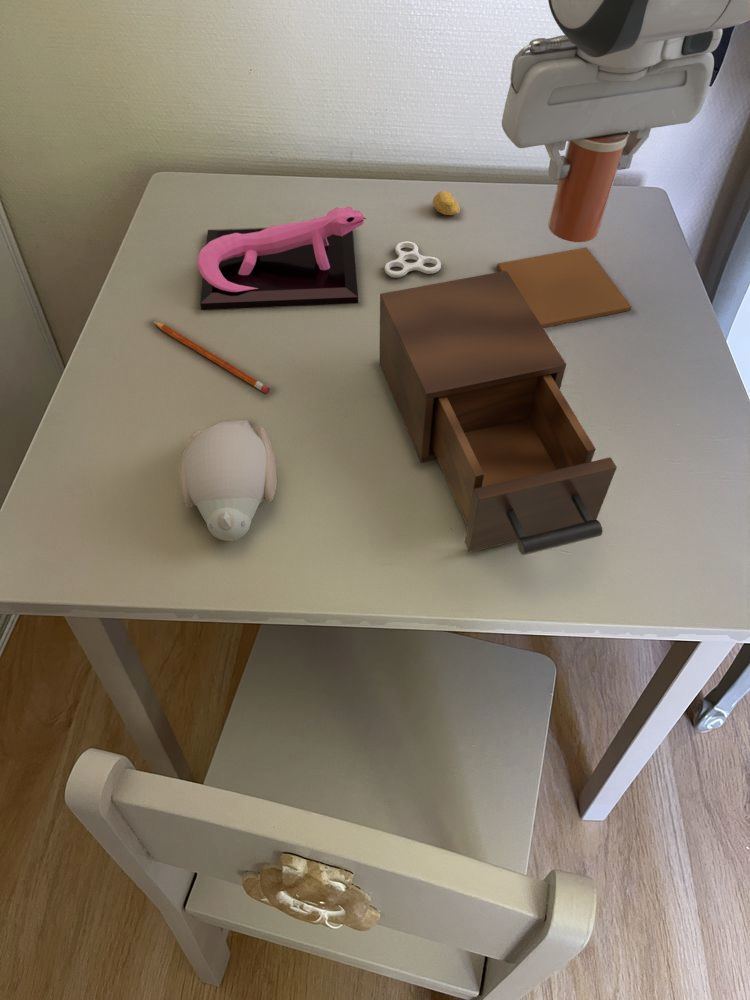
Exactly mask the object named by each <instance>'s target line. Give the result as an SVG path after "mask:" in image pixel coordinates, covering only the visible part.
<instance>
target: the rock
mask: <svg viewBox="0 0 750 1000" xmlns="http://www.w3.org/2000/svg"><path fill="white" fill-rule="evenodd" d="M432 204H433V207H434V209H435V210H436V211H437V212H439V213H440V214H442V215H445V216H446V215H447V216H454V215H457V214H459V213H460V212H461V208H460V205H459V203H458V201H457V200H456V199H455V197H454V195H453V194H452V193H451V192H449V191H446V190H443V191H439V192H437V193H436V194H435V196H433V198H432Z"/></svg>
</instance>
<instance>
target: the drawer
mask: <svg viewBox="0 0 750 1000" xmlns="http://www.w3.org/2000/svg"><path fill="white" fill-rule="evenodd" d="M430 444H431V446H432V448H433V451H434V453H435V455H436V457H437V459H436V461H437V462H438V464H439V466H440V468H441V471H442V474H443V476H444V478H445V480H446V482H447V485H448V487H449V489H450V491H451V494H452V496H453V498H454V500H455V502H456V505H457V507H458V509H459V512H460V514H461V516H462V519H463V521H464V523H465V525H466V533H465V537H464V544H465V547H466V548H467V551H468V552H469V553H472V552H476V551H480V550H481V551H482V550H484V549H490V548H493V547H496V546H500V545H505V544H509V543H512V542H517V548H518V551H519V553H520V555H522V556H526V555H530V554H534V553H537V552H541V551H546V550H549V549H550V550H551V549H553V548H557V547H561V546H565V545H570V544H573V543H578V542H581V541H586V540H591V539H594V538H597V537H601V536H602V535H603V526H602V524H601V522H600V520H598V517H599V514H600V511H601V509H602V506H603V504H604V502H605V498H606V496H607V494H608V491H609V488H610V486H611V483H612V481H613V478H614V476H615V473H616V471H617V465H616V464H615V462H614V460H613V458H612V457H611V456H610V457H606V458H605V457H604V458H601V459H597V460H593V458H594V455H595V452H596V447H595V445H594V443H593V441H592V440H591V439H590V437H589V435H588V434H587V432H586V430H585V429H584V427H583V425H582V423H581V422H580V421H579V419H578V417H577V416H576V414H575V412H574V411H573V409H572V407H571V405H570V404H569V403H568V401H567V399H566V397H565V396H564V394H563V393H562V391H561V388H560V389H559V388H558V386H557V385H556V383H555V381H554V380H553V378H552V376H551V375H550V374H547V375H542V376H537V377H532V378H528V379H523V380H518V381H513V382H509V383H504V384H499V385H494V386H489V387H485V388H480V389H475V390H470V391H466V392H461V393H456V394H451V395H446V396H442V397H437V398H434V401H433V413H432V424H431V436H430ZM592 460H593V461H592Z"/></svg>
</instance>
